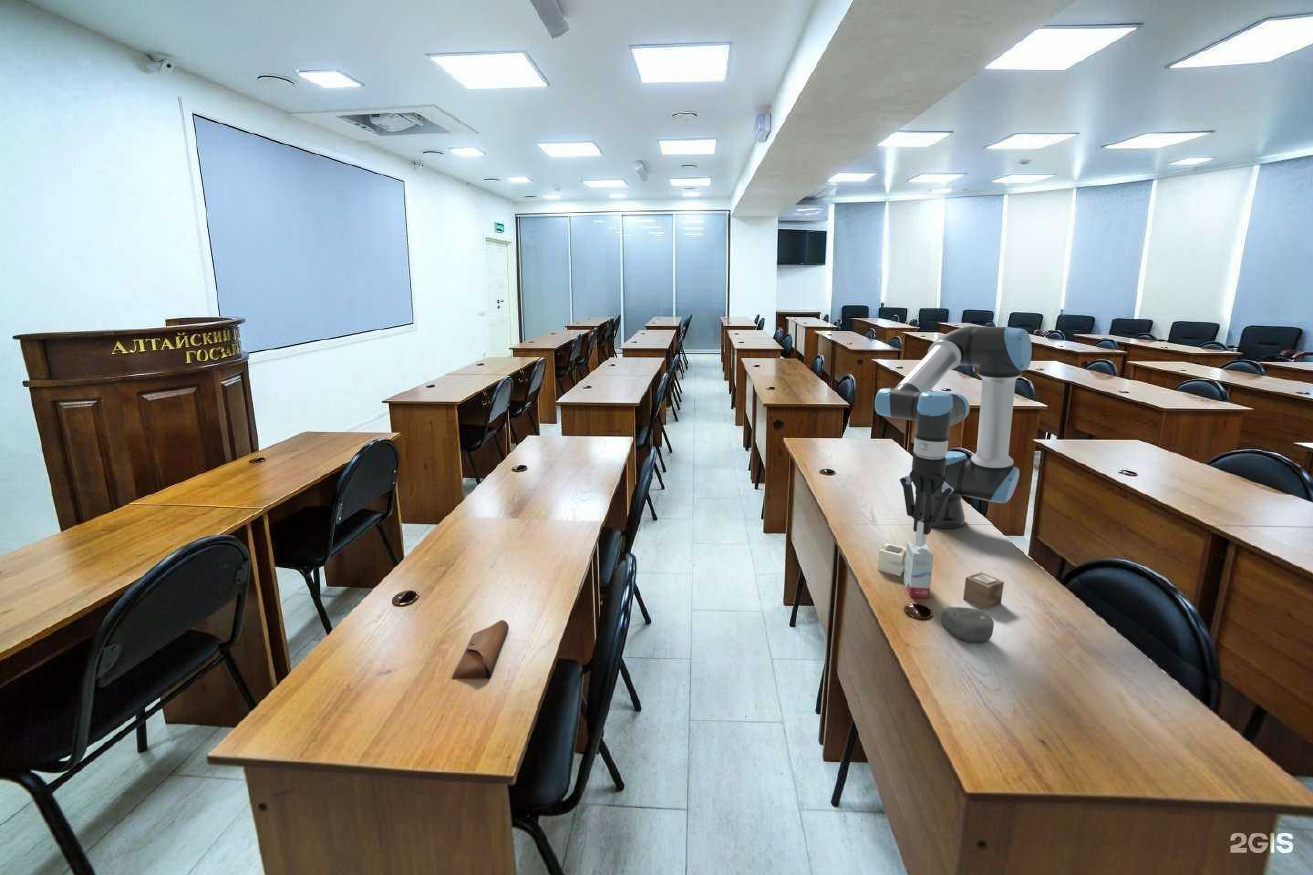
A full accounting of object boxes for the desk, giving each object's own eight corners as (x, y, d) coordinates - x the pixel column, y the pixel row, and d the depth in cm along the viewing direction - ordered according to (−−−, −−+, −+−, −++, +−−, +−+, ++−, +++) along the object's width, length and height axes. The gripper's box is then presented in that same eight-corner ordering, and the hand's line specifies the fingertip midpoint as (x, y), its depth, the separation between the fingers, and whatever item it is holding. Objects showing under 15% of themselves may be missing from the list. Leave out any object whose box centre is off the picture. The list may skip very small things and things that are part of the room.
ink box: (929, 598, 155) (934, 555, 152) (909, 597, 156) (913, 554, 153) (922, 583, 163) (926, 541, 160) (903, 581, 164) (906, 540, 161)
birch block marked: (884, 562, 175) (886, 542, 174) (906, 568, 172) (908, 547, 170) (877, 570, 171) (879, 549, 169) (899, 576, 167) (901, 555, 166)
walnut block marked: (978, 593, 158) (981, 571, 156) (1000, 603, 152) (1004, 581, 151) (963, 599, 155) (966, 576, 153) (985, 610, 150) (988, 586, 148)
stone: (971, 618, 146) (986, 594, 139) (987, 653, 139) (1002, 630, 132) (933, 619, 146) (946, 594, 139) (946, 654, 139) (960, 630, 133)
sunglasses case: (472, 631, 143) (485, 608, 141) (499, 644, 144) (512, 622, 142) (449, 680, 125) (464, 655, 124) (481, 695, 126) (495, 670, 125)
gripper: (896, 453, 153) (888, 541, 159) (950, 463, 144) (940, 557, 149) (910, 447, 158) (902, 533, 164) (963, 457, 149) (952, 548, 154)
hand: (920, 544), depth 156 cm, fingers closed
